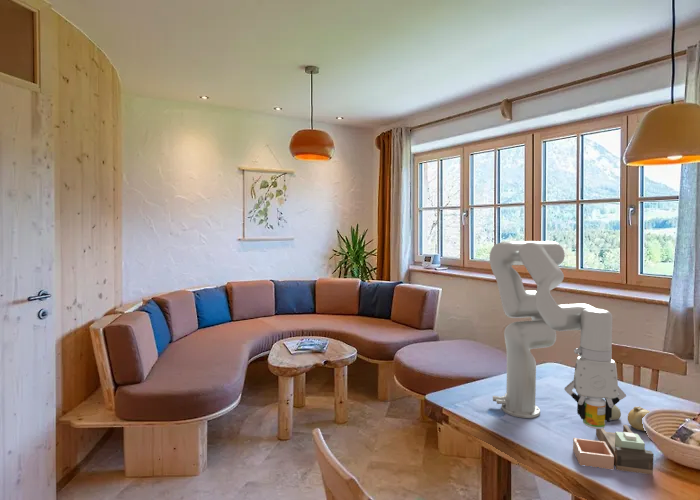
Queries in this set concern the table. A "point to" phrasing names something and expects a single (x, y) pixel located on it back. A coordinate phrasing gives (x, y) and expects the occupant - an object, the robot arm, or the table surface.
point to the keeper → (629, 440)
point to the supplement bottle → (594, 412)
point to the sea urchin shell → (615, 413)
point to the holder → (593, 453)
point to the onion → (637, 417)
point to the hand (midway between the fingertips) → (594, 417)
